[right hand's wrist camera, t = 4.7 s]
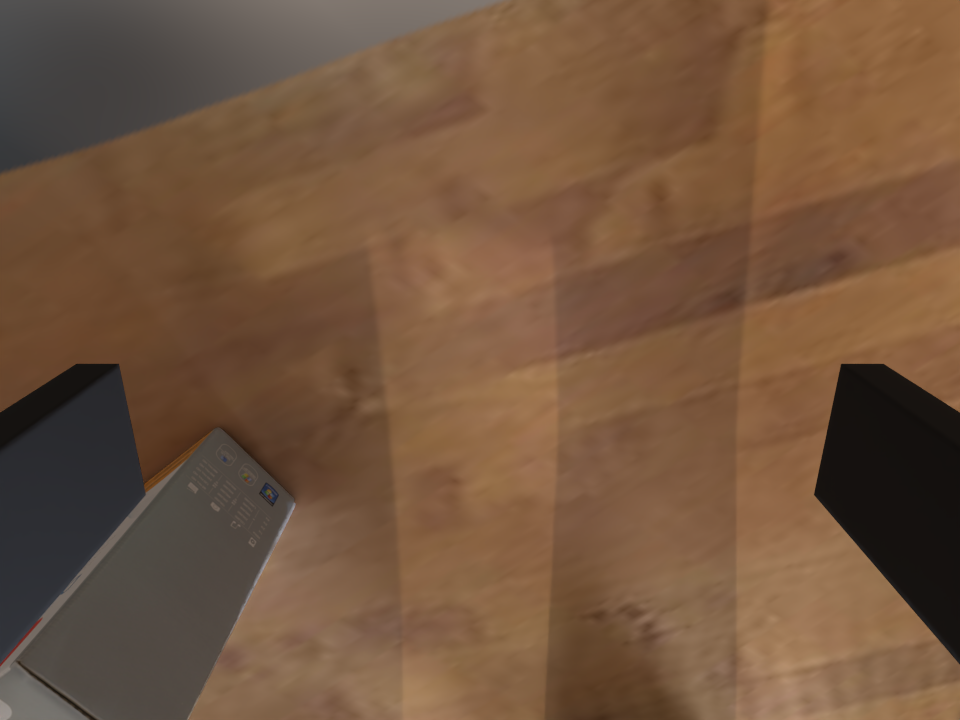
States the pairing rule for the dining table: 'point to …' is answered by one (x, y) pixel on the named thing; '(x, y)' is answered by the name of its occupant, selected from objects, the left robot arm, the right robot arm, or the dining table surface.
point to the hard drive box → (153, 596)
